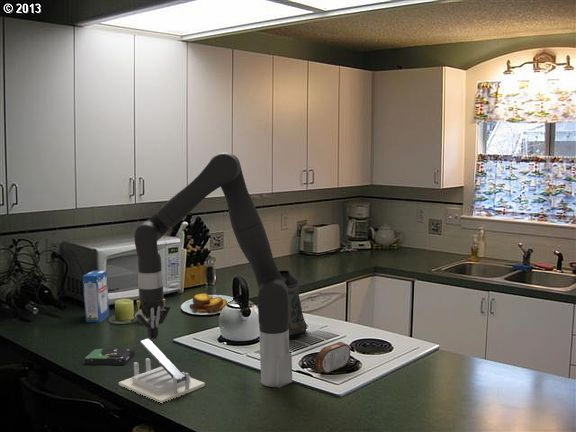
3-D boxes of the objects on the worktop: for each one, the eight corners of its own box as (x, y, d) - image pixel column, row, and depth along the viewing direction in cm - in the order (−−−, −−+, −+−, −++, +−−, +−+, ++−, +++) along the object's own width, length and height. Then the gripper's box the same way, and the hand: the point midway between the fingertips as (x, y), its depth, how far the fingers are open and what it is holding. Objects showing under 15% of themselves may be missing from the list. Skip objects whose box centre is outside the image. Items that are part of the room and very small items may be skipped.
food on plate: (249, 308, 290) (248, 294, 289) (204, 321, 273) (204, 306, 272) (214, 298, 308) (213, 284, 307) (170, 309, 291) (169, 295, 290)
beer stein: (298, 325, 263) (297, 265, 260) (315, 340, 245) (314, 275, 242) (259, 330, 258) (257, 269, 255) (273, 345, 240) (271, 279, 236)
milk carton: (95, 315, 285) (92, 270, 282) (109, 315, 284) (106, 270, 281) (85, 322, 275) (82, 275, 272) (99, 322, 274) (96, 276, 271)
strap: (185, 381, 199) (186, 378, 199) (177, 384, 197) (178, 381, 197) (147, 341, 211) (148, 338, 210) (140, 343, 208) (140, 340, 208)
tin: (345, 362, 222) (345, 338, 221) (352, 364, 220) (352, 340, 219) (315, 374, 212) (314, 349, 211) (322, 377, 210) (322, 352, 208)
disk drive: (135, 356, 235) (95, 355, 236) (134, 348, 234) (94, 347, 236) (125, 366, 225) (83, 365, 226) (124, 358, 224) (83, 357, 226)
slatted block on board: (204, 385, 205) (204, 368, 204) (161, 403, 192) (160, 385, 191) (162, 369, 219) (161, 353, 218) (118, 385, 207) (117, 367, 206)
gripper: (140, 291, 196) (142, 346, 198) (175, 283, 205) (177, 335, 208) (125, 287, 201) (128, 341, 203) (160, 279, 210) (162, 331, 213)
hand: (153, 338), depth 206 cm, fingers closed
